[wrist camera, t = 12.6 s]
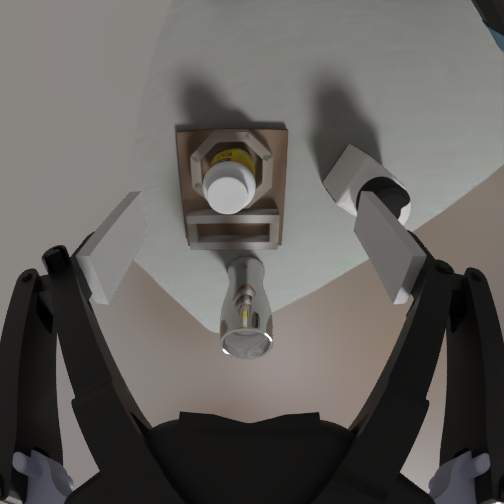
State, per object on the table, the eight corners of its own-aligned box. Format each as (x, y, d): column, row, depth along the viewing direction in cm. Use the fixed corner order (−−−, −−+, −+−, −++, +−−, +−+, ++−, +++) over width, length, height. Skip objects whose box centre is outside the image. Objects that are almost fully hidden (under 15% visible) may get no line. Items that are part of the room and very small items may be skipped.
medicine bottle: (320, 183, 36) (348, 223, 26) (348, 142, 33) (389, 168, 23) (357, 207, 38) (391, 251, 28) (384, 170, 35) (428, 204, 25)
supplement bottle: (234, 137, 32) (229, 156, 23) (263, 168, 34) (268, 199, 26) (202, 165, 34) (186, 194, 25) (230, 194, 36) (225, 232, 28)
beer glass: (254, 246, 42) (257, 320, 30) (274, 277, 45) (283, 350, 33) (216, 264, 44) (206, 338, 31) (238, 292, 47) (237, 365, 35)
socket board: (287, 129, 32) (290, 132, 30) (280, 241, 42) (282, 252, 39) (178, 131, 32) (172, 135, 29) (189, 242, 41) (185, 253, 39)
